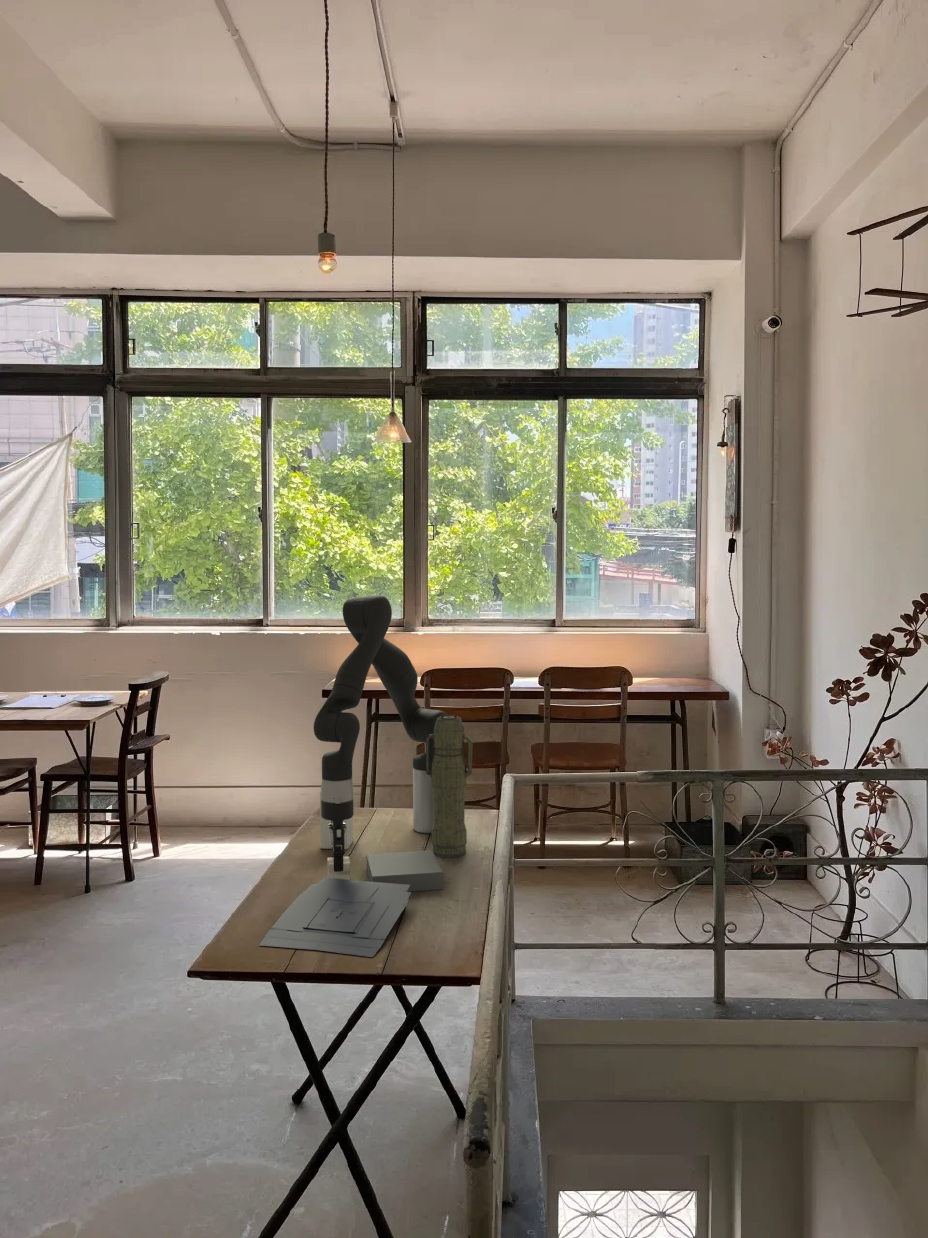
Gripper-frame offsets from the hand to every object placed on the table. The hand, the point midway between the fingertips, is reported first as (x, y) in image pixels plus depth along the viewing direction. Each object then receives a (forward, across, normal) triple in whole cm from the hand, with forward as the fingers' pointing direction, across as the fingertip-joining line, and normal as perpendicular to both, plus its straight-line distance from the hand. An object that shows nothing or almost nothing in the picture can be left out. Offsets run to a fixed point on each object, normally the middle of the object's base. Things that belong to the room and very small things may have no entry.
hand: (337, 865), depth 230 cm
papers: (+4, +26, 0) cm, 26 cm away
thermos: (+4, -16, +29) cm, 34 cm away
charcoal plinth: (+4, +2, +15) cm, 16 cm away
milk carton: (+4, -27, +1) cm, 27 cm away
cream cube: (+4, 0, 0) cm, 4 cm away
